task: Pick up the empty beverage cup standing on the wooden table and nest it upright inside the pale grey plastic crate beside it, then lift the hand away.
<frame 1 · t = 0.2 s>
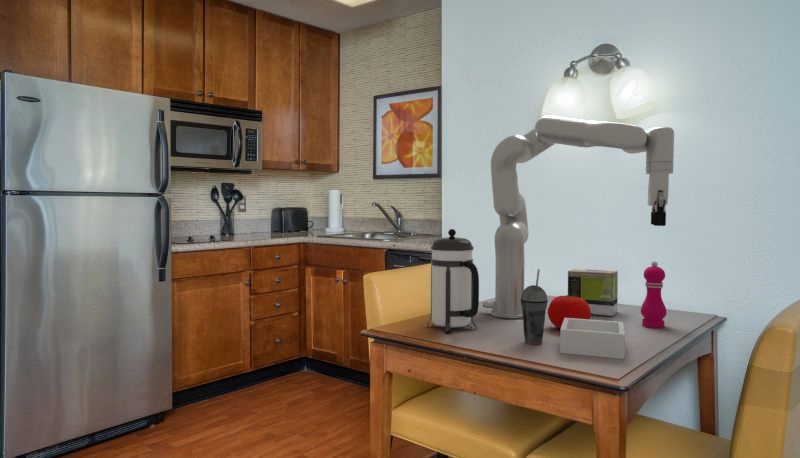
hand: (658, 225, 165), 31 cm above the table, tool pointing down, fingers open, 9 cm apart
pepper mill: (653, 326, 167), on the table
coffee press: (454, 329, 162), on the table
tea box: (592, 312, 188), on the table
tomato: (568, 330, 162), on the table
crate: (592, 348, 140), on the table
beverage cup: (533, 343, 146), on the table
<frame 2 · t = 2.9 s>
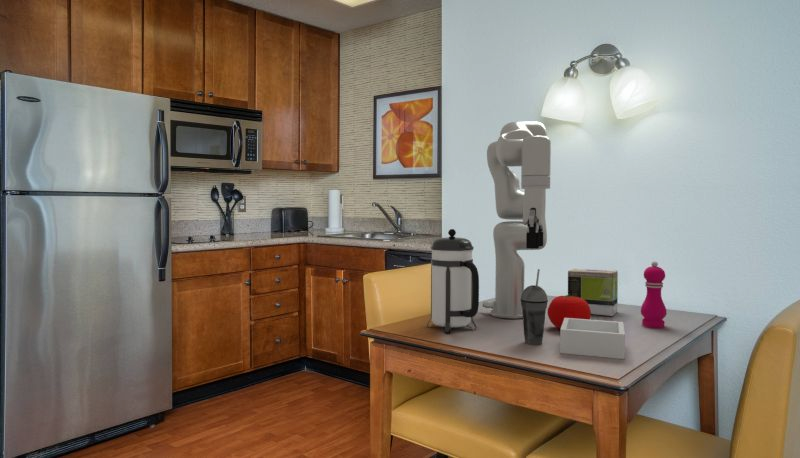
hand: (534, 247, 145), 26 cm above the table, tool pointing down, fingers open, 9 cm apart
nothing on the table moved.
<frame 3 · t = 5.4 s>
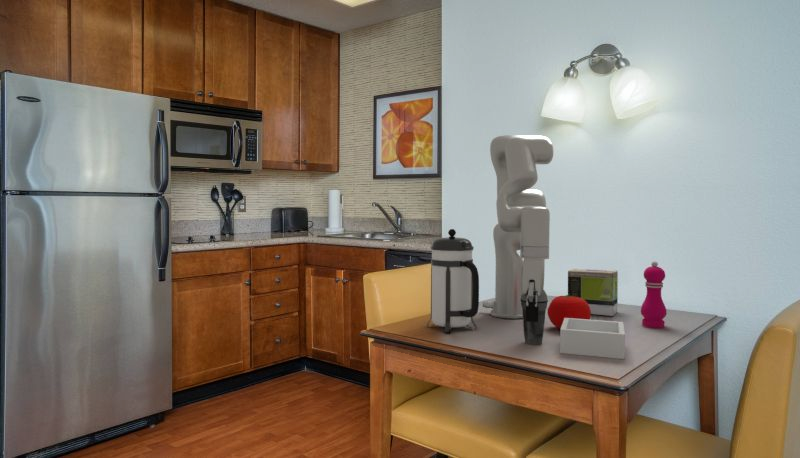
hand: (533, 318, 146), 7 cm above the table, tool pointing down, fingers closed on beverage cup, 6 cm apart
beverage cup: (533, 343, 146), on the table, touching gripper
everything else where it was.
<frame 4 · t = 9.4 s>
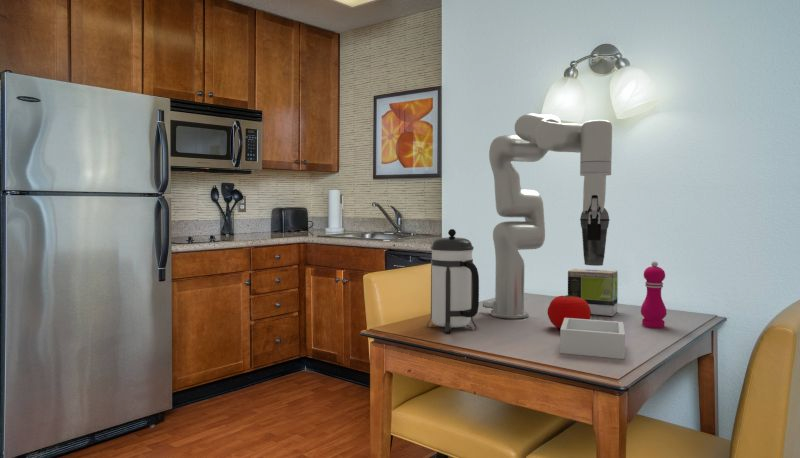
hand: (594, 238, 139), 29 cm above the table, tool pointing down, fingers closed on beverage cup, 6 cm apart
beverage cup: (593, 265, 139), point 22 cm above the table, touching gripper
everything else where it was.
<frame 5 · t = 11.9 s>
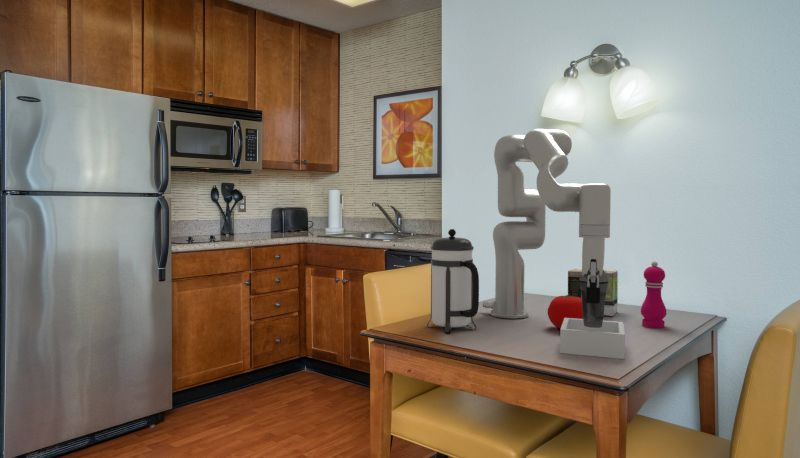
hand: (593, 300, 140), 13 cm above the table, tool pointing down, fingers closed on beverage cup, 6 cm apart
beverage cup: (592, 326, 140), point 6 cm above the table, touching gripper
everything else where it was.
when the fingers open (9 cm above the table, at t = 13.5 s): beverage cup moves 1 cm, resting on crate.
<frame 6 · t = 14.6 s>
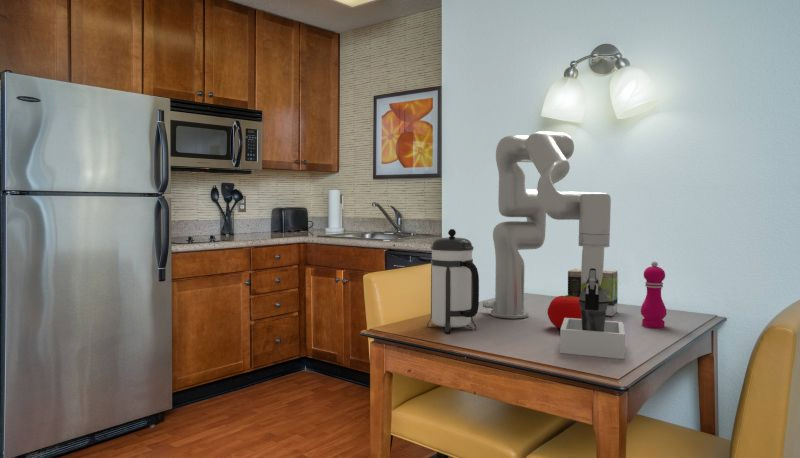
hand: (592, 306, 140), 11 cm above the table, tool pointing down, fingers open, 9 cm apart
beverage cup: (592, 345, 140), point 1 cm above the table, touching crate, gripper
everything else where it was.
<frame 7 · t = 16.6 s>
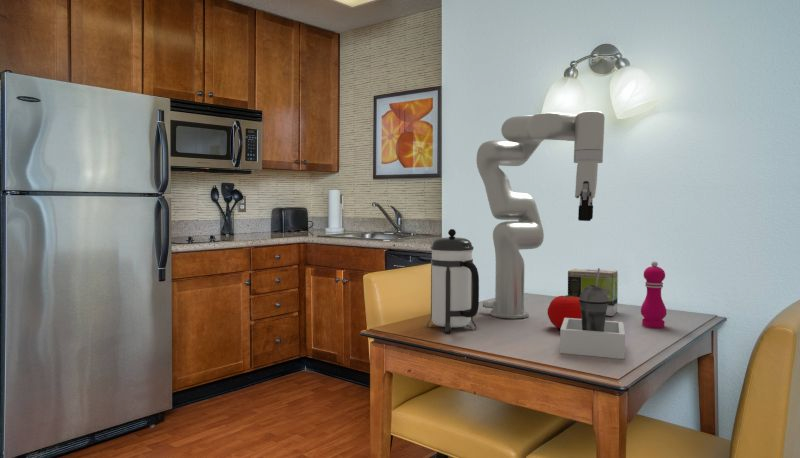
hand: (585, 219, 149), 33 cm above the table, tool pointing down, fingers open, 9 cm apart
beverage cup: (592, 346, 140), point 1 cm above the table, touching crate
everything else where it was.
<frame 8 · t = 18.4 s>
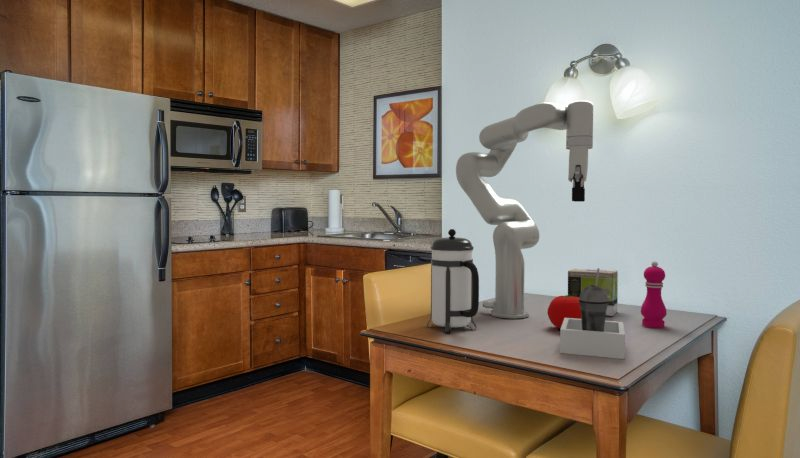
hand: (578, 201, 161), 38 cm above the table, tool pointing down, fingers open, 9 cm apart
nothing on the table moved.
at the end: beverage cup inside the target area on the crate (0.7 cm from its centre), point 0.8 cm above the crate's base; beverage cup tilted 0°; the gripper is holding nothing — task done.
